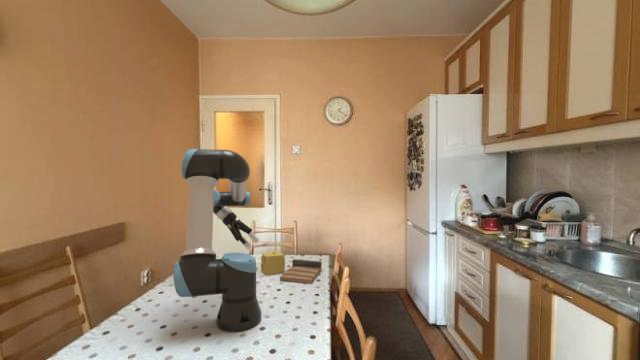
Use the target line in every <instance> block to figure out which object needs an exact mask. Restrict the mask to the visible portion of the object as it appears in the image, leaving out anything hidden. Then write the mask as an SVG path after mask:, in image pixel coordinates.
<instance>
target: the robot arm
mask: <svg viewBox="0 0 640 360" xmlns="http://www.w3.org/2000/svg"><path fill="white" fill-rule="evenodd" d="M180 173H181V177H182V179H185V183H186V184H187V185H188V187H189V195H188V210H187V225H186V241H185V250H184V252H183V253H182V254H181V255H180V257H179V260H177V261H175V263H174V265H173V271H172V272H173V284H174V285H173V286H174V289H175V292H176V294H177V296H179V297H180V298H194V297H202V296H212V295H213V296H214V295H221V304H220V307H219V309H218V312H217V314H216V326H217V327H218V328H219V329H220V330H222V331H226V332H232V333H233V332H241V331H242V332H243V331H247V330H249V329H252V328H254V327H256V326H257V325H259V324H260V322H261V321H262V310H261V306H260V305H259V304H260V303H259V301H258V299H257V272H258V269H257V260H256V258H255V257H254V256H253V255H251V254H248V253H244V252H227V253H224V254H223V255H222V256H221V258H217V253H216V252H215V251H214V250H213V231H214V229H213V227H214V215H215V216H216V217H217V219H219V220H220V221H221V222H222V224H224V225H225V226H226V227H227V228H228V230H229V231H230V233H231V234H232V236H233V238H234V239H235V240H236V241H237V242H240V243H241V244H243V246H244V247H245V248H246V249H247V250H249V249H250V248H251V247H252V246H253V244H252V243H250V242H249V241H248V240H247V239H246V237H245V236H242V233H241V231H242V232H243V233H245V234H247V236H248V237H249V238H250V239H251V240H252V241H253V242H254V244H257V243H258V242H259V241H260V239H259V238H258V237H257V236H256V234H254V232H253V229H252V227H251V228H250V226H248V225H247V224H246V223H244V222H243V221H242V220H240V219H237V217H238V216H237V215H236V213H235V212H234V211H232V210H233V209H231V208H230V207H244V206H250V204H251V193H250V191H247V187H248V186H247V185H248V180H249V177H250V174H251V170H250V166H249V163H248V162H247V160H246V159H245V157H243V156H242V155H241V154H239V153H238V152H237V151H233V150H231V149H230V150H229V149H207V148H206V149H205V148H204V149H203V148H202V149H201V148H191V149H188V150H186V151H185V153H184V155H183V158H182V162H181V172H180ZM224 179H225V180H226V179H227V180H229V189H230V191H218V190H217V189H215V187H216V186H218V184H219V180H224Z"/></svg>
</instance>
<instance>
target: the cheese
mask: <svg viewBox="0 0 640 360" xmlns="http://www.w3.org/2000/svg"><path fill="white" fill-rule="evenodd" d="M260 259H261V263H260V270H261V271H262V272H263V274H264V275H265V276H270V275H272V276H273V275H277V274H278V275H279V274H284V273H285V271H286V270H285V269H286V268H285V267H286V259H285V254H284V253H282V252H281V251H280V250H269V251H267V252H266V253H262V255H261V258H260Z"/></svg>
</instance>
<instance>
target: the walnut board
mask: <svg viewBox="0 0 640 360" xmlns="http://www.w3.org/2000/svg"><path fill="white" fill-rule="evenodd" d="M322 266H323V265H322V260H321V261H319V260H308V259H307V260H306V259H298V258H297V259H295V258H294V259H292V264H291V266H290V267H289V268H288V269H287V270H285V271H284V273H281V275H280V277H279V281H280V282H289V283H298V284H309V285H311V284H313V283H314V281H315V280H316V279H317V277H318V276H319V274H321V272H322V270H323V269H322V268H323V267H322Z"/></svg>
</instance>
